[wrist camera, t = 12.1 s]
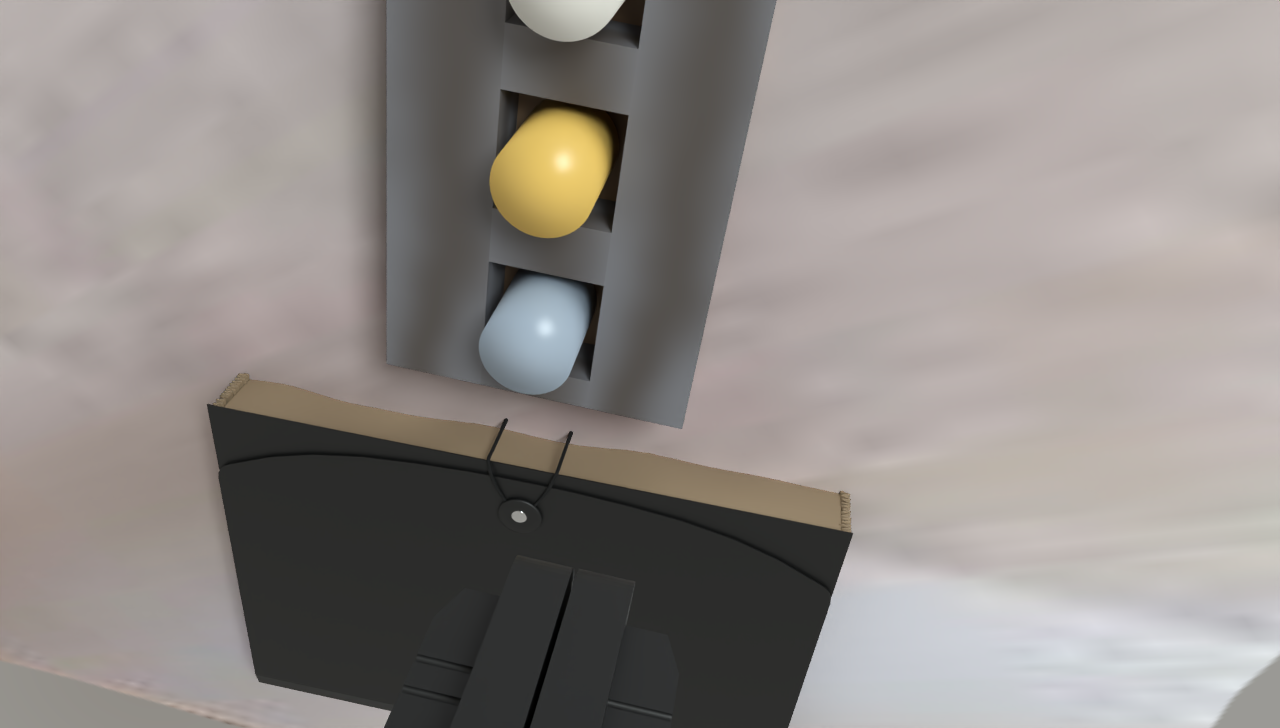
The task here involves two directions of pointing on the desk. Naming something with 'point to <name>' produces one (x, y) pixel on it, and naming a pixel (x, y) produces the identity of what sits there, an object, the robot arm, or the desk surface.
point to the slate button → (537, 331)
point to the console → (624, 212)
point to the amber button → (554, 168)
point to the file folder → (509, 547)
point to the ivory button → (566, 17)
